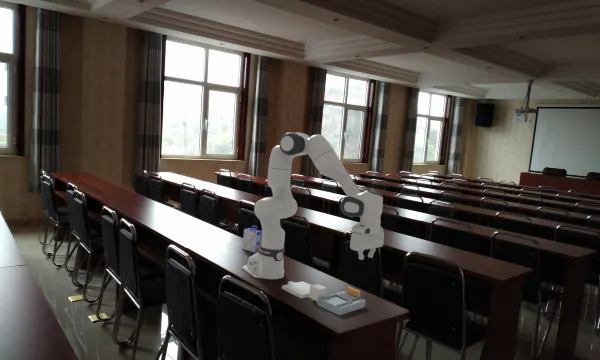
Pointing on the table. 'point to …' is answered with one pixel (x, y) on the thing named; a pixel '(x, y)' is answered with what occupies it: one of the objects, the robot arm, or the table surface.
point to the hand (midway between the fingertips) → (365, 258)
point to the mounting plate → (298, 289)
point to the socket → (340, 304)
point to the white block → (317, 292)
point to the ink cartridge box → (252, 239)
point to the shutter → (350, 294)
